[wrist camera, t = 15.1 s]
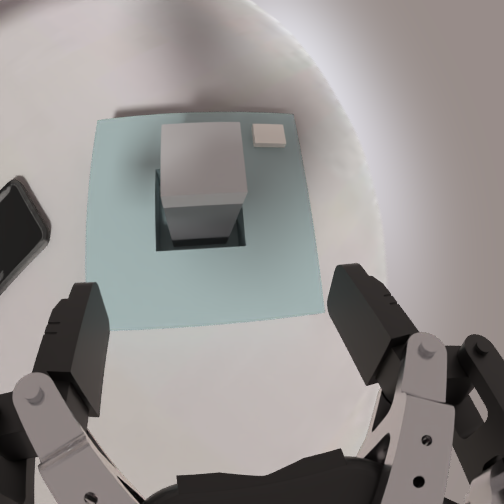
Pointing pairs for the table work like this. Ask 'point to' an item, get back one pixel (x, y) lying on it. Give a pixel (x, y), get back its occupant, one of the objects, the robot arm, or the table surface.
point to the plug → (202, 181)
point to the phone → (18, 232)
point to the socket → (200, 256)
